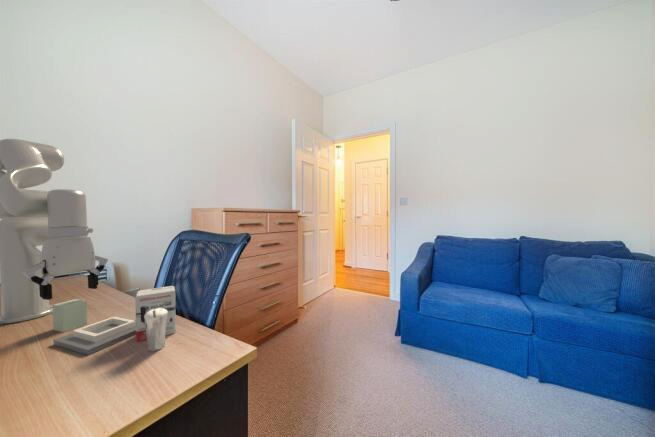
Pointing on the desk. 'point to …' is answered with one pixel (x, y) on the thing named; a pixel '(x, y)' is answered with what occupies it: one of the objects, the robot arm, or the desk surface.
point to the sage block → (69, 315)
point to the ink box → (152, 301)
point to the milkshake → (156, 328)
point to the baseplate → (98, 335)
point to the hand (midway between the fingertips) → (71, 293)
